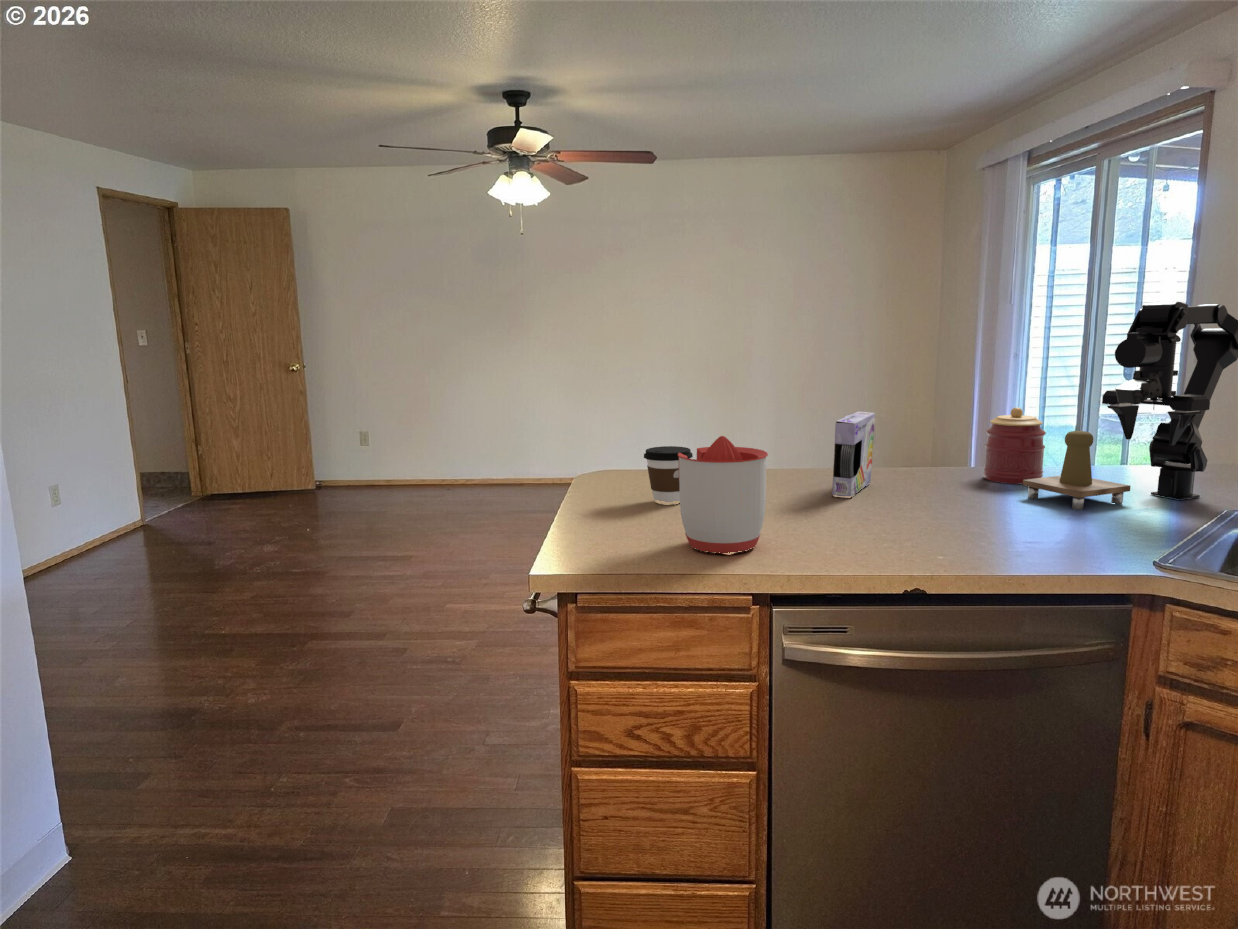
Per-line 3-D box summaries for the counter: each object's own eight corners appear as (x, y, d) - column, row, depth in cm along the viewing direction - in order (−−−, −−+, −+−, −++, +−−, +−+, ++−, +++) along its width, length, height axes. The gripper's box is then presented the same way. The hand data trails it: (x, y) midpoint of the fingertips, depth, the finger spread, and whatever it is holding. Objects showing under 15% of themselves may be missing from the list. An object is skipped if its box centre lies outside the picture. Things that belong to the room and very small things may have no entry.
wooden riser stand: (1070, 492, 175) (1071, 480, 174) (1124, 504, 163) (1126, 491, 162) (1025, 498, 171) (1026, 485, 170) (1078, 510, 159) (1079, 497, 158)
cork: (1096, 485, 163) (1101, 433, 161) (1065, 485, 164) (1069, 433, 162) (1085, 480, 168) (1089, 429, 166) (1055, 479, 170) (1058, 429, 168)
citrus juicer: (701, 529, 151) (701, 427, 148) (783, 543, 140) (784, 433, 137) (653, 548, 139) (651, 437, 136) (737, 565, 128) (738, 444, 125)
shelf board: (1070, 479, 175) (1071, 474, 175) (1130, 491, 162) (1130, 485, 162) (1022, 485, 170) (1023, 479, 170) (1079, 497, 157) (1080, 491, 157)
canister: (1044, 477, 192) (1049, 405, 189) (1040, 486, 182) (1045, 411, 178) (986, 473, 199) (990, 403, 196) (979, 482, 188) (983, 409, 185)
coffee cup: (675, 510, 168) (675, 455, 166) (634, 504, 174) (633, 451, 172) (702, 500, 176) (702, 448, 174) (662, 495, 183) (661, 444, 181)
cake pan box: (851, 500, 173) (853, 421, 170) (829, 498, 175) (830, 420, 172) (873, 484, 189) (875, 411, 186) (852, 483, 191) (854, 411, 188)
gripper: (1085, 365, 164) (1080, 439, 166) (1174, 369, 146) (1166, 451, 149) (1124, 363, 167) (1118, 435, 170) (1215, 366, 150) (1207, 447, 153)
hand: (1149, 442), depth 160 cm, fingers open, 9 cm apart
